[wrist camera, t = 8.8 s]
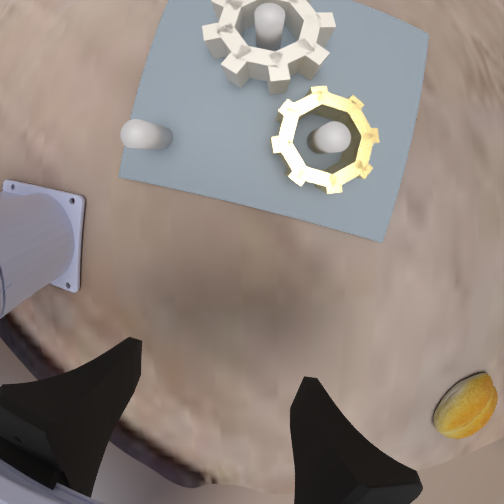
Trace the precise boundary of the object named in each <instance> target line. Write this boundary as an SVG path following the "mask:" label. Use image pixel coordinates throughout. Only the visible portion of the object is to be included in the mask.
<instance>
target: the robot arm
mask: <svg viewBox="0 0 504 504" xmlns="http://www.w3.org/2000/svg"><path fill="white" fill-rule="evenodd" d="M14 186H15V188H14ZM73 198H74V200H75V203H73V202H72V199H73ZM84 207H85V199H84V197H83V196H81V195H78V194H73V193H69V192H64V191H60V190H55V189H51V188H46V187H42V186H37V185H33V184H28V183H23V182H19V181H14V180H9V179H8V180H5V181H4V183H3V191H2V192H0V319H1V318H2V317H3V316H5V315H6V314H7V313H9V312H10V311H11V310H13V309H14V308H15V307H17V306H18V305H19V304H21V303H22V302H24V301H25V300H26V299H28V298H29V297H31V296H32V295H33V294H35V293H36V292H38V291H39V290H40V289H42V288H43V287H45V286H46V285H48V284H52V285H54V286H57V287H60V288H62V289H65V290H68V291H70V292H73V293H76V292H77V291H78V290H79V288H80V258H81V240H82V227H83V216H84ZM68 283H69V284H70V286H71V287H70V286H69V285H68ZM141 353H142V341H141V340H138V339H135V338H131V337H128V338H127V339H125V340H124V341H122V342H121V343H119V344H118V345H116V346H115V347H113V348H112V349H110V350H108V351H107V352H105V353H104V354H102V355H100V356H99V357H97V358H95V359H94V360H92V361H90V362H88V363H86V364H84V365H82V366H80V367H78V368H76V369H74V370H71V371H69V372H66V373H64V374H61V375H57V376H54V377H51V378H47V379H43V380H39V381H34V382H28V383H19V384H3V385H2V386H1V387H0V504H104V503H102V502H99V501H97V500H95V499H92V498H91V494H92V491H93V487H94V483H95V480H96V476H97V473H98V469H99V466H100V463H101V461H102V458H103V455H104V452H105V449H106V446H107V444H108V442H109V439H110V436H111V434H112V432H113V430H114V428H115V426H116V424H117V422H118V420H119V419H120V417H121V415H122V413H123V411H124V410H125V408H126V406H127V404H128V402H129V401H130V399H131V397H132V395H133V393H134V391H135V388H136V386H137V383H138V381H139V378H140V375H141ZM290 431H291V440H292V448H293V456H294V464H295V499H294V504H410V503H411V502H412V501H414V500H415V499H416V498H417V497H418V496H419V495H420V493H421V491H422V489H423V486H422V484H421V481H420V478H419V476H418V474H417V471H415V470H413V469H411V468H409V467H407V466H405V465H403V464H401V463H399V462H397V461H396V460H394V459H393V458H391V457H389V456H388V455H386V454H385V453H383V452H382V451H381V450H379V449H378V448H377V447H375V446H374V445H373V444H372V443H370V442H369V441H368V440H367V439H366V438H365V437H364V436H363V435H362V434H361V433H359V432H358V431H357V430H356V429H355V428H354V426H353V425H352V424H351V423H350V422H349V421H348V420H347V418H346V417H345V416H344V415H343V414H342V412H341V411H340V410H339V409H338V407H337V406H336V405H335V403H334V402H333V400H332V399H331V398H330V396H329V395H328V393H327V392H326V390H325V389H324V387H323V386H322V384H321V383H320V382H319V380H318V379H317V378H312V377H305V376H304V378H303V380H302V383H301V385H300V387H299V389H298V392H297V394H296V396H295V399H294V401H293V403H292V405H291V407H290Z"/></svg>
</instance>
